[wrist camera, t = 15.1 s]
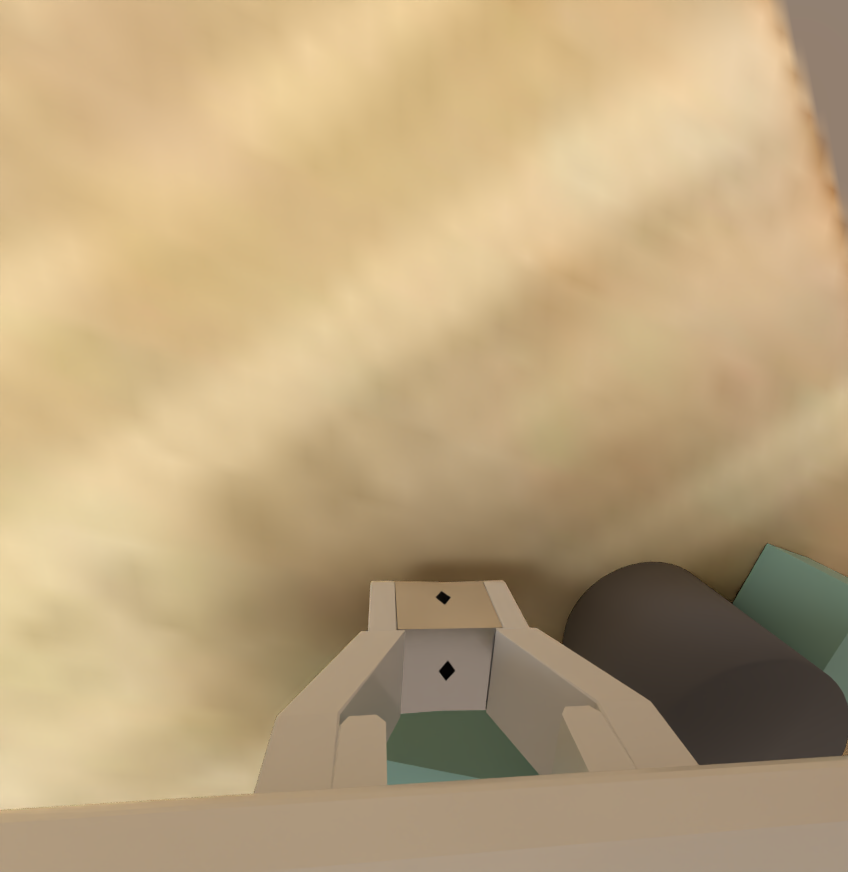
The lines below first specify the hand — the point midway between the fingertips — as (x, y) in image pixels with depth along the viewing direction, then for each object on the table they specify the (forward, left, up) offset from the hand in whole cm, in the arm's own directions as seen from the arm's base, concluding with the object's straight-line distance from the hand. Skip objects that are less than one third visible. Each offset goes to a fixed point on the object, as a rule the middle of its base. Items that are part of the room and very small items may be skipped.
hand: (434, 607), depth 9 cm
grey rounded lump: (0, -7, -2) cm, 7 cm away
